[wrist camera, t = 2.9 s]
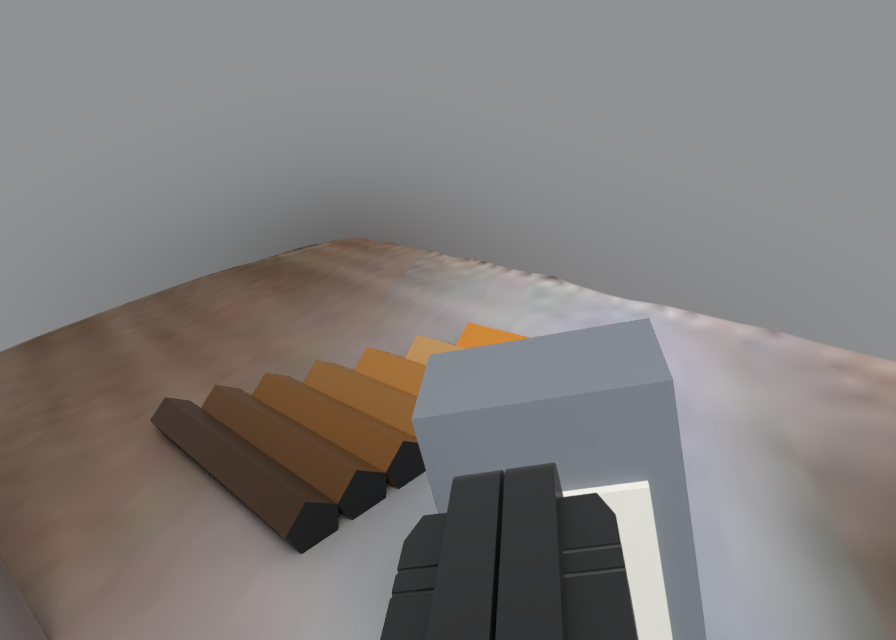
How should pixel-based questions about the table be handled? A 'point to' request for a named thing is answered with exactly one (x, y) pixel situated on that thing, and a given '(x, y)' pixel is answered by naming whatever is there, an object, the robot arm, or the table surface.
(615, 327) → the slate block
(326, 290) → the table surface
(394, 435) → the pan flute
